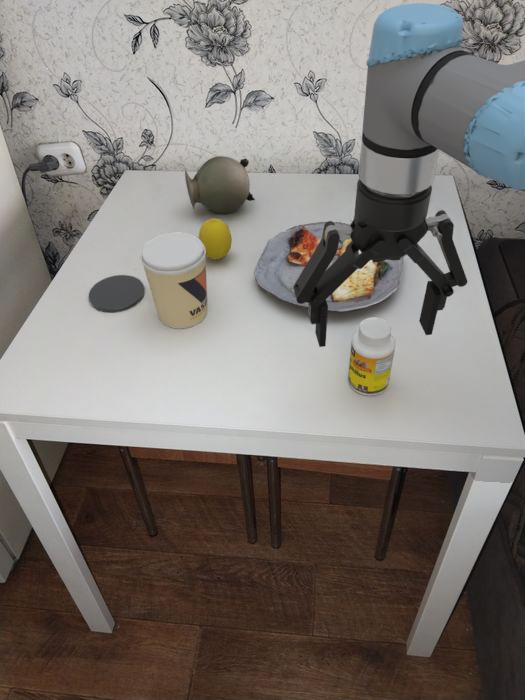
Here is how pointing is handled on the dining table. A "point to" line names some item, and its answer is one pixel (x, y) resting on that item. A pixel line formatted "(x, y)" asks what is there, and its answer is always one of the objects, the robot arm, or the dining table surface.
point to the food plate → (294, 253)
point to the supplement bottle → (371, 357)
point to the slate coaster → (116, 293)
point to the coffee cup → (177, 278)
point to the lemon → (215, 238)
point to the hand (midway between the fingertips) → (373, 333)
